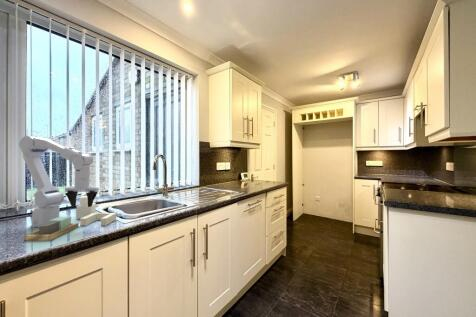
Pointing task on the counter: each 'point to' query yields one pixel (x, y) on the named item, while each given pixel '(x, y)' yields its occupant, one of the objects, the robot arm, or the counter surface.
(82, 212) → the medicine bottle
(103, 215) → the bay
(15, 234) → the counter surface
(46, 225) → the gray green block
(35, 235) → the tray
